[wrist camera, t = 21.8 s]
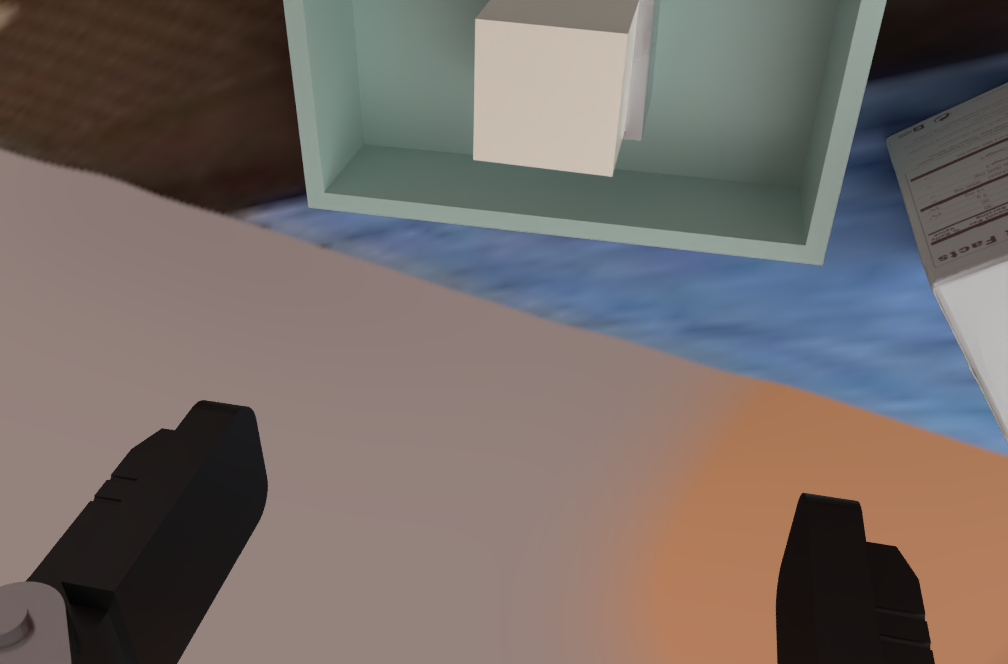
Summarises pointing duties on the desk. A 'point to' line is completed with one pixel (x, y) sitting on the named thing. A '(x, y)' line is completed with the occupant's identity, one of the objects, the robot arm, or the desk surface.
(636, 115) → the tin block
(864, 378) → the desk surface
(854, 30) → the tote
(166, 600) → the robot arm
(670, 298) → the desk surface
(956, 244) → the supplement box
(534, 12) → the cream box
